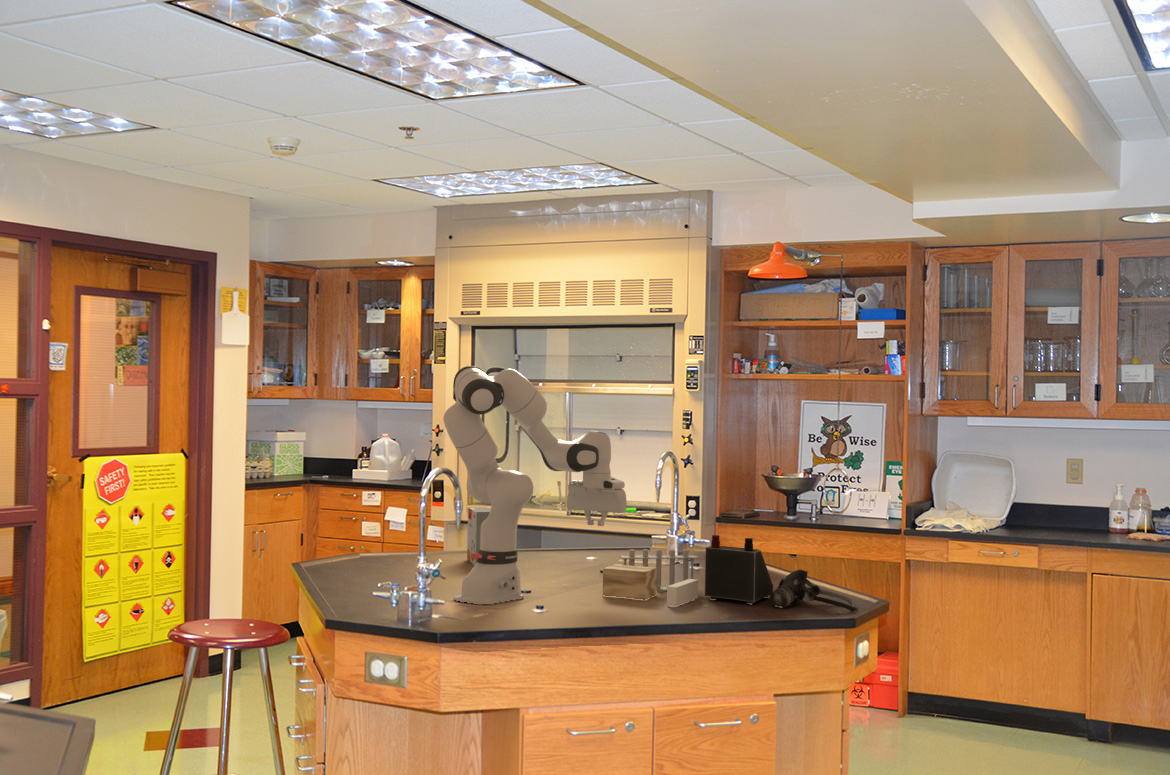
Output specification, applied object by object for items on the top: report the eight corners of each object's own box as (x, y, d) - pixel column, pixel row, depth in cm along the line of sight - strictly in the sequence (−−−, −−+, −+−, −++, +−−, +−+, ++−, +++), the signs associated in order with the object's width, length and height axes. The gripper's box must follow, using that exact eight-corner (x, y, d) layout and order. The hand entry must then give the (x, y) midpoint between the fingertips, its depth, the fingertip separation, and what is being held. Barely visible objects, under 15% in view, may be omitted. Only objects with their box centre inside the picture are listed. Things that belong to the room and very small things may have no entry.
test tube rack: (694, 589, 335) (695, 548, 336) (697, 591, 331) (698, 550, 331) (618, 589, 332) (619, 548, 332) (621, 592, 327) (622, 550, 328)
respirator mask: (775, 587, 325) (806, 553, 322) (827, 636, 319) (860, 601, 315) (762, 598, 306) (795, 561, 303) (818, 650, 300) (852, 613, 297)
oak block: (644, 601, 313) (645, 572, 313) (602, 597, 318) (603, 568, 319) (656, 596, 322) (656, 567, 322) (615, 592, 327) (615, 564, 328)
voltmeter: (773, 598, 322) (774, 534, 322) (754, 606, 308) (755, 539, 308) (725, 592, 330) (726, 530, 330) (704, 600, 316) (705, 535, 316)
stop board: (676, 607, 303) (676, 587, 304) (666, 606, 305) (667, 586, 305) (697, 599, 317) (698, 579, 317) (688, 598, 319) (689, 578, 319)
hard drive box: (466, 560, 387) (467, 507, 388) (486, 559, 390) (487, 506, 390) (474, 566, 373) (475, 511, 373) (495, 565, 375) (496, 511, 375)
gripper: (563, 480, 329) (562, 523, 329) (619, 484, 319) (619, 528, 319) (573, 479, 335) (572, 522, 334) (629, 483, 325) (628, 526, 324)
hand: (595, 525), depth 327 cm, fingers open, 2 cm apart
